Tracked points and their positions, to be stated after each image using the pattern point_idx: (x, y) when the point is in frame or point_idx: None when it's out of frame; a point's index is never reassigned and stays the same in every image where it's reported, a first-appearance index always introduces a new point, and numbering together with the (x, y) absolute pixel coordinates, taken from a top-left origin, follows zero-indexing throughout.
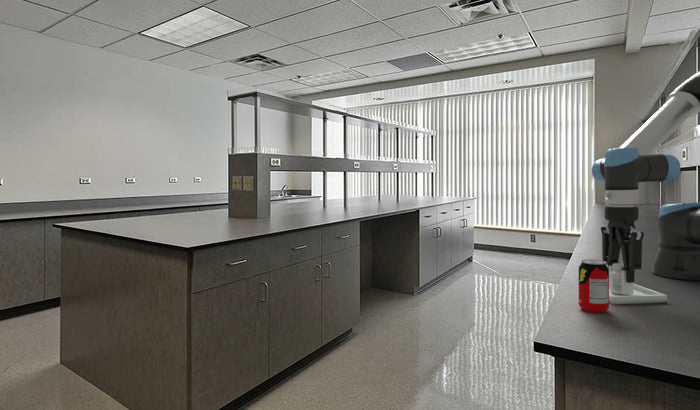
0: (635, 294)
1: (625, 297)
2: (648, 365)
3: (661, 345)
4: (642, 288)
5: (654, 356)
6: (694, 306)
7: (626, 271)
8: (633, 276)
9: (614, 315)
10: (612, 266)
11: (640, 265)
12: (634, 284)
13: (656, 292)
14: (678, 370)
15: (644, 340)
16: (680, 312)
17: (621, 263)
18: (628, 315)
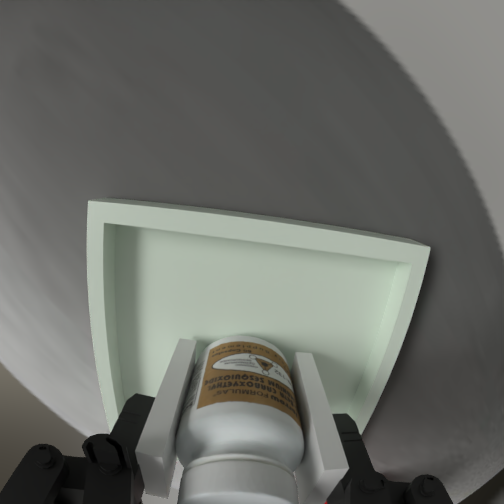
0: (286, 315)
1: (360, 433)
2: (496, 473)
3: (499, 448)
4: (256, 241)
5: (497, 464)
6: (475, 181)
7: (329, 492)
8: (362, 449)
9: (401, 471)
10: (167, 490)
11: (442, 499)
12: (161, 219)
13: (374, 252)
14: None
15: (481, 461)
16: (488, 304)
17: (197, 498)
18: (421, 449)
